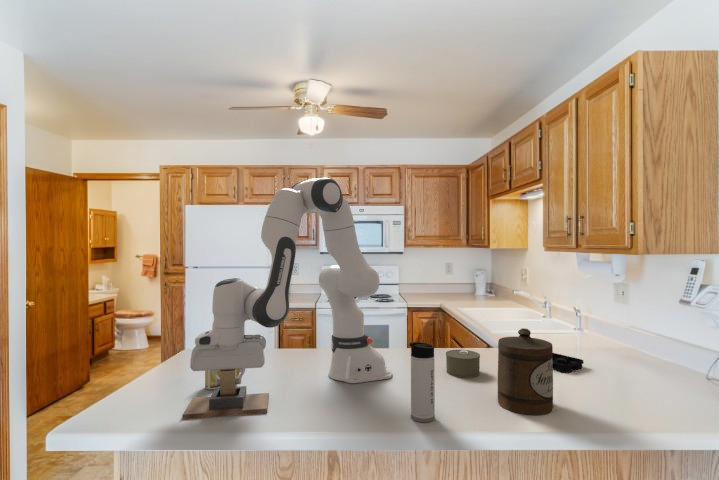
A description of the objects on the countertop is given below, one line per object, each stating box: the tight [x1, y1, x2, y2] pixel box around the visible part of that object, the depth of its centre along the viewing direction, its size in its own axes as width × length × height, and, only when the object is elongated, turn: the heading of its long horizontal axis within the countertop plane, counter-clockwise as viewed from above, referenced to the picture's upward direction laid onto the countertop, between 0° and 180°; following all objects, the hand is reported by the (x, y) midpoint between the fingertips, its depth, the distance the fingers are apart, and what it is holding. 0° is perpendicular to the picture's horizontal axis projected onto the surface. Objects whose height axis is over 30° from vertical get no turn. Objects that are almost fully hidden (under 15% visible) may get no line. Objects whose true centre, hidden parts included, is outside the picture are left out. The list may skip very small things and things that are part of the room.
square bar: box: [220, 369, 238, 397], centre depth 117 cm, size 4×4×8 cm
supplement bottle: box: [204, 370, 221, 391], centre depth 133 cm, size 5×5×10 cm
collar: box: [209, 385, 247, 410], centre depth 117 cm, size 9×9×3 cm
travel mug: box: [409, 341, 436, 423], centre depth 109 cm, size 6×7×20 cm
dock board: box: [182, 392, 270, 420], centre depth 117 cm, size 22×12×1 cm, turn 100°
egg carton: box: [552, 352, 585, 374], centre depth 161 cm, size 18×30×4 cm, turn 45°
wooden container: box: [497, 327, 554, 416], centre depth 118 cm, size 15×15×22 cm
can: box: [445, 349, 481, 379], centre depth 147 cm, size 12×12×7 cm
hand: (228, 384), depth 117 cm, fingers closed on square bar, 4 cm apart
